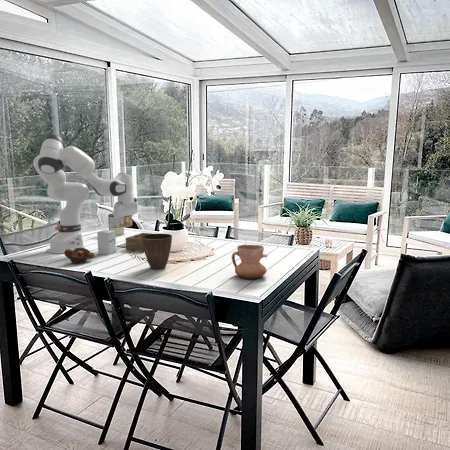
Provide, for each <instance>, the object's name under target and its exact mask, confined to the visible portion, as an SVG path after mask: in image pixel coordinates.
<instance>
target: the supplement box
mask: <svg viewBox="0 0 450 450" xmlns="http://www.w3.org/2000/svg"><path fill="white" fill-rule="evenodd" d="M96 233H97V234H96V235H97V254H98V255H105V256H107V255H109V256H110V255H111V254H114V253H116V251H117V247H116V246H117V244H116V243H117V242H116V241H117V239H116V236H115V231H113V230H109V229H103V230H100V231H97V232H96Z"/></svg>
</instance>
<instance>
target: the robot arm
mask: <svg viewBox="0 0 450 450" xmlns="http://www.w3.org/2000/svg"><path fill="white" fill-rule="evenodd" d="M32 165H33V168H34V169H35V171H36V173H37V174H38V175H39V176H40V177H41V179H43V181H44V182H45V183H46V184H47V189H46V194H47V196H48V197H49V199H51V200H54V201H58V202H66V204H65V207H63V208H62V209H60V211H59V226H54V230H55V231H57V233H55V235H54V237H53V238H52V239H51V240H50V243H49V244H50V245H49V247H50V248H47V249H46V250H45V252H46V253H48V254H64V252H65V250H67V249H71V250H74V249H76V248H85V249H86V246H85V245H84V241H83V235H82V232H81V230H82V225H81V221H80V220H81V219H80V218H81V217H80V215H81V213H80V212H81V207H82V205H83V203H85V201H86V200H87V199H88V198H89V195H90V189H89V187H88V185H87V184H89V185H90V186H91V187H92V189H93V190H94V191H95V193H96V194H97V195H98V196H100V197H104V196H105V197H117V201H116V202H115V203H114V206H113V213H112V214H113V216H114V218H120V220H121V224H125V221H124V217H125V216H132V217H133V215H136V214H138V212H139V206H138V198H137V197H134V196H133V195H134V194H133V181H132V176H131V174H129V173H125V172H118V173H117V175H116V176H115V177H113V178H111V179H107V178H101V177H99V176H98V175H96V174H95V173H94V171H95V168H96V162H95V161H94V160H93V159H92V158H91V156H89V155H88V154H86V153H85V152H84V151H83V150H81V149H80V148H78V147H76V146H73V145H68V146H66V147H65V141H64V140H63V138H62V137H60V136H59V135H58V134H57V135H56V134H49V135H46V136H45V138H44V139H43V141H42V144H41V147H40V150H39V155H37V156H35V157H34V159H33V162H32ZM65 166H66V167H69V168H70V169H71V170H72V171H73V172H75V173H76V174H78V175H79V176H80V177H81V178H82V179H83V180H84V181H85V182H87V184H86V183H85V184H84V183H81V182H75V181H74V182H73V181H66V179H67V174H66V173H65V172H64V170H63V169H64V167H65Z"/></svg>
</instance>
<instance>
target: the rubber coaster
mask: <svg viewBox="0 0 450 450" xmlns="http://www.w3.org/2000/svg"><path fill="white" fill-rule="evenodd" d="M116 248H122V249H123V248H125V249H126V242H124V243H121V244H116Z"/></svg>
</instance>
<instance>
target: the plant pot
mask: <svg viewBox="0 0 450 450" xmlns="http://www.w3.org/2000/svg"><path fill="white" fill-rule="evenodd" d="M172 240H173V235H172V234H169V233H152V234H148V235H144V236H142V243H143V248H144V251H145V252H144V251H143V252H144V255H145V257H146V260H147V262H148V265H149V267H150V269H151V270H155V271H157V270H164V269H166V267H167V265H168V262H169V258H170V254H171V250H172V249H171V248H172V243H173V242H172Z"/></svg>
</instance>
